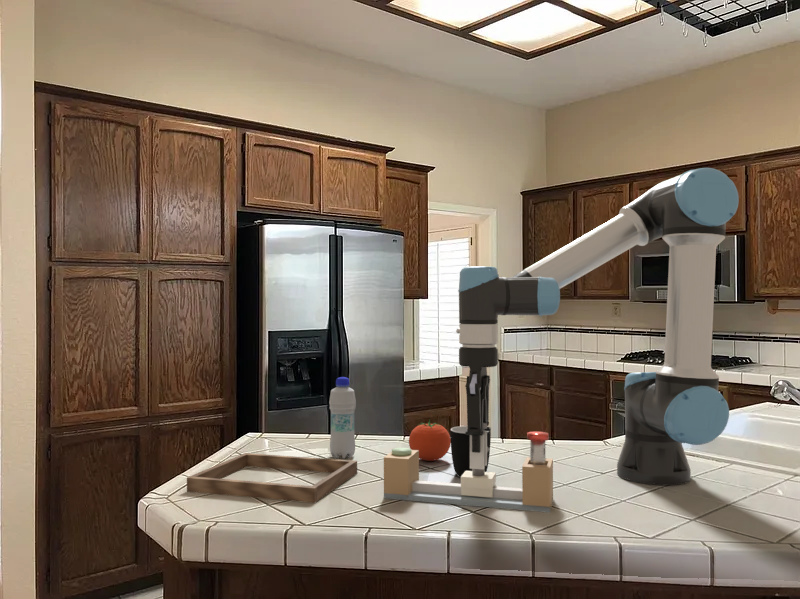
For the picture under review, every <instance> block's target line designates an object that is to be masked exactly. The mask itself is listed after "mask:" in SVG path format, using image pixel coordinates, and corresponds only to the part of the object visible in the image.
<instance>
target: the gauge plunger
mask: <svg viewBox="0 0 800 599" xmlns="http://www.w3.org/2000/svg"><path fill="white" fill-rule="evenodd" d="M526 434H527V435H526V439H527V440H529V442H530V443H529V444H530V446H529V447H530V448H529V452H530V456H529V457H530V464H533V465H546V463H545V458H546V441H548V440H550V437H549V433H548V432H545V431H529V432H528V431H527V432H526Z"/></svg>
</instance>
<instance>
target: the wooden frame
mask: <svg viewBox="0 0 800 599" xmlns="http://www.w3.org/2000/svg"><path fill="white" fill-rule="evenodd" d="M247 467H251V468H252V467H253V468H261V469H263V468H264V469H275V470H276V469H279V470H280V469H281V470H289V471H304V472H315V473H316V472H317V473H318V472H319V473H328V474H329V475H327V476H326V477H324V478H322V479H321V480H319V481H318V482H315V483H314V484H313V485H300V484H289V483H275V482H266V481H264V482H263V481H253V480H252V481H251V480H240V479H228V478H227V479H226V478H225V477H227V476H229V475H232V474H235V473H236V472H239V471H240V470H243V469H245V468H247ZM357 474H358V460H351V459H339V458H338V459H337V458H324V457H322V458H320V457H307V456H291V455H279V454H278V455H276V454H264V453H263V454H262V453H250V452H249V453H248V452H246V453H242V454H240V455H238V456H235V457H233V458H230V459H228V460H226V461H223V462H221V463H219V464H217V465H214V466H211V467H209V468H207V469H205V470H202V471H200V472H197V473H194V474H192V475H190V476H188V477H186V492H190V493H200V494H211V495H213V494H214V495H221V496H234V497H235V496H236V497H244V498H257V499H266V500H269V499H270V500H279V501H291V502H300V503H313V504H315V503H317V502H318V501H319V500H321V499H322V498H324V497H326V496H327V495H329V494H330V493H331V492H332V491H334V490H335V489H338V487H339V486H341V485H342V484H344V483H345V482H346V481H348V480H350V479H351V478H353V477H354V476H355V475H357Z"/></svg>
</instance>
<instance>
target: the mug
mask: <svg viewBox="0 0 800 599" xmlns="http://www.w3.org/2000/svg"><path fill="white" fill-rule="evenodd" d="M467 429H468V428H467V425H461V426H460V425H459V426H454V427H451V428H450V431H449V435H450V439H451V444H450V453H451V459H452V465H453V469H454V472H455V474H456V476H458V477H459V478H461V476H462V475H463V473H464V472H465V471H472V469H470V435H466V433H465V432H466V431H467ZM485 432H487V466H485V472H488V467H489V461H490V452H491V440H492V437H491V436H492V435H491V431H485Z"/></svg>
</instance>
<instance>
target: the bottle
mask: <svg viewBox="0 0 800 599" xmlns="http://www.w3.org/2000/svg"><path fill="white" fill-rule="evenodd" d="M335 386H336V387H334V388H332V389H331V390H330V395H329V401H328V404H329V410H330V440H329V441H330V442H329V451H330V452H329V453H330V456H331V457H332V458H334V459H338V460H339V459H340V456H341V458H342V460H346V457H347V458H348V459H349V458H352V457H353V456H354V454H355V452H356V438H355V410H356V408H357V407H356V404H357V401H356V394H355V389H353V388H351V387H350V379H349V378H348V377H345V376H340V377H337V378H336V380H335Z"/></svg>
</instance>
